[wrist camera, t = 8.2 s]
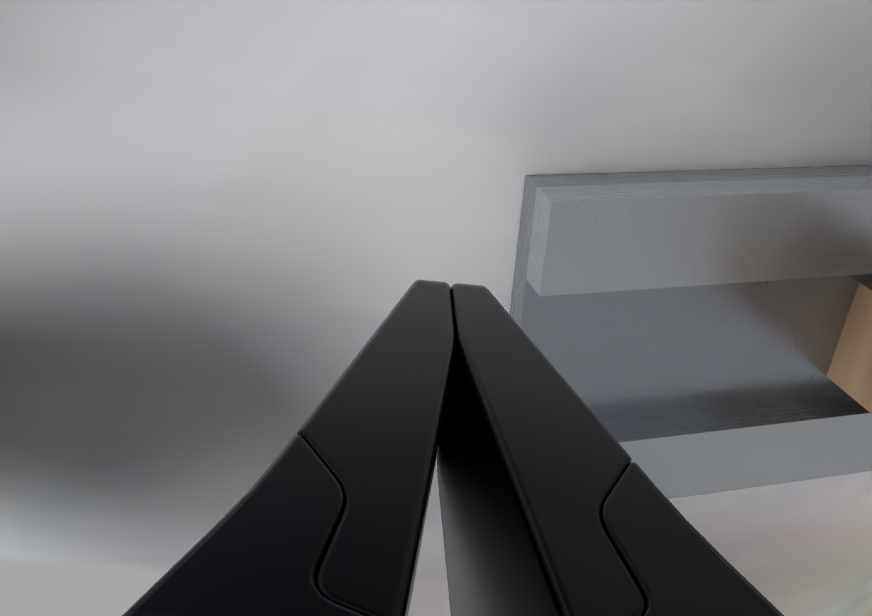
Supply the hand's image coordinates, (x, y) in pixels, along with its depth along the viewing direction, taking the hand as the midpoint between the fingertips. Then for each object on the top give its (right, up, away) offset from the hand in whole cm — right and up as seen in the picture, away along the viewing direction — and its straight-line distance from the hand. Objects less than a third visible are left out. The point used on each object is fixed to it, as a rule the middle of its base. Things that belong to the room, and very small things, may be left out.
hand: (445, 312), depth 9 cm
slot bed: (+11, -1, +19) cm, 22 cm away
